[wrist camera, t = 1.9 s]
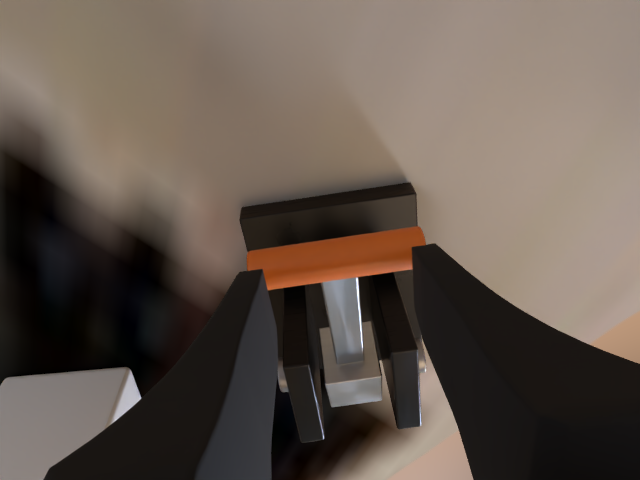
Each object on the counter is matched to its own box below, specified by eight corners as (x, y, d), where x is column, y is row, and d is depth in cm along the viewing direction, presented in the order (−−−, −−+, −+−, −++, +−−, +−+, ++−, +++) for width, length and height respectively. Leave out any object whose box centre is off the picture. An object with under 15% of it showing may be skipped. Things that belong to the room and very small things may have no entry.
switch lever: (245, 226, 15) (247, 297, 13) (414, 201, 15) (434, 270, 13) (294, 359, 23) (298, 412, 21) (403, 343, 23) (415, 396, 21)
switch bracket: (240, 207, 23) (223, 315, 17) (410, 181, 23) (461, 281, 17) (278, 359, 29) (277, 488, 22) (417, 339, 28) (457, 463, 22)
